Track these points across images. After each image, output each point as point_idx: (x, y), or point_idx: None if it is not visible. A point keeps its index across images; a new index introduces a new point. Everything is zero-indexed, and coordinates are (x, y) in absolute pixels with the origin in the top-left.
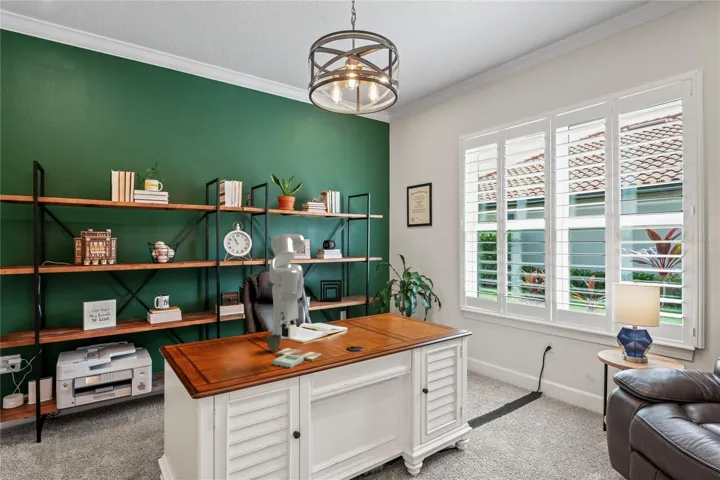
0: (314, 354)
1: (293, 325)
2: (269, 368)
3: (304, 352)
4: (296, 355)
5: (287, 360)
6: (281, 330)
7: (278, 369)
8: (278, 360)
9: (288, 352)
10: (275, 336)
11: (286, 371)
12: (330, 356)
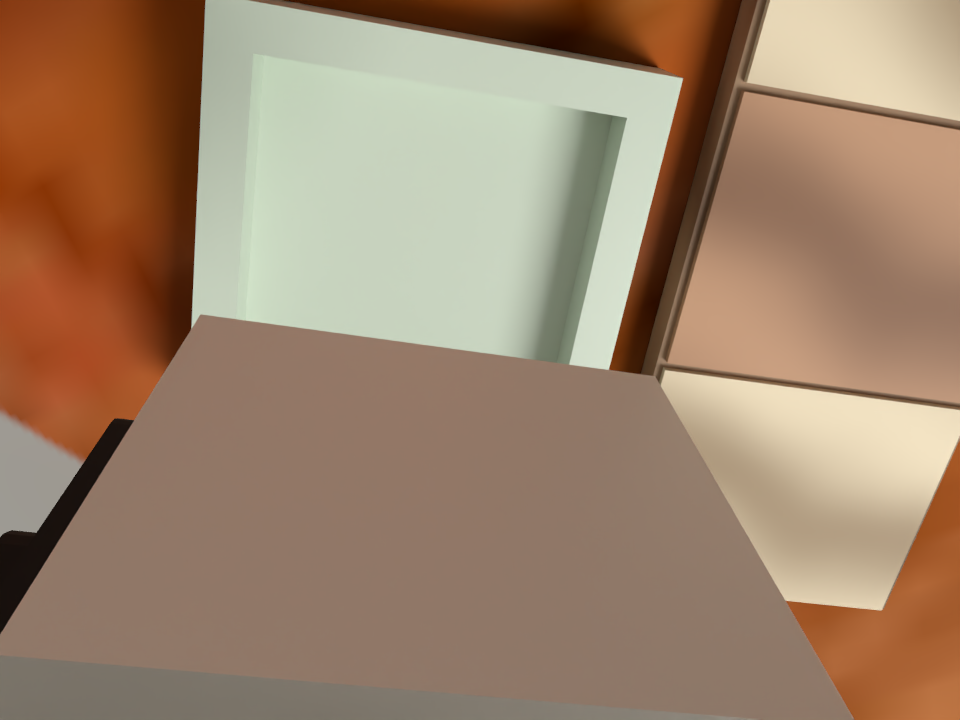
0: (833, 528)
1: None
2: (6, 32)
3: (926, 335)
4: (726, 272)
5: (470, 200)
6: (109, 490)
7: (48, 225)
8: (238, 122)
9: (892, 22)
10: None
11: (37, 390)
12: (872, 683)
